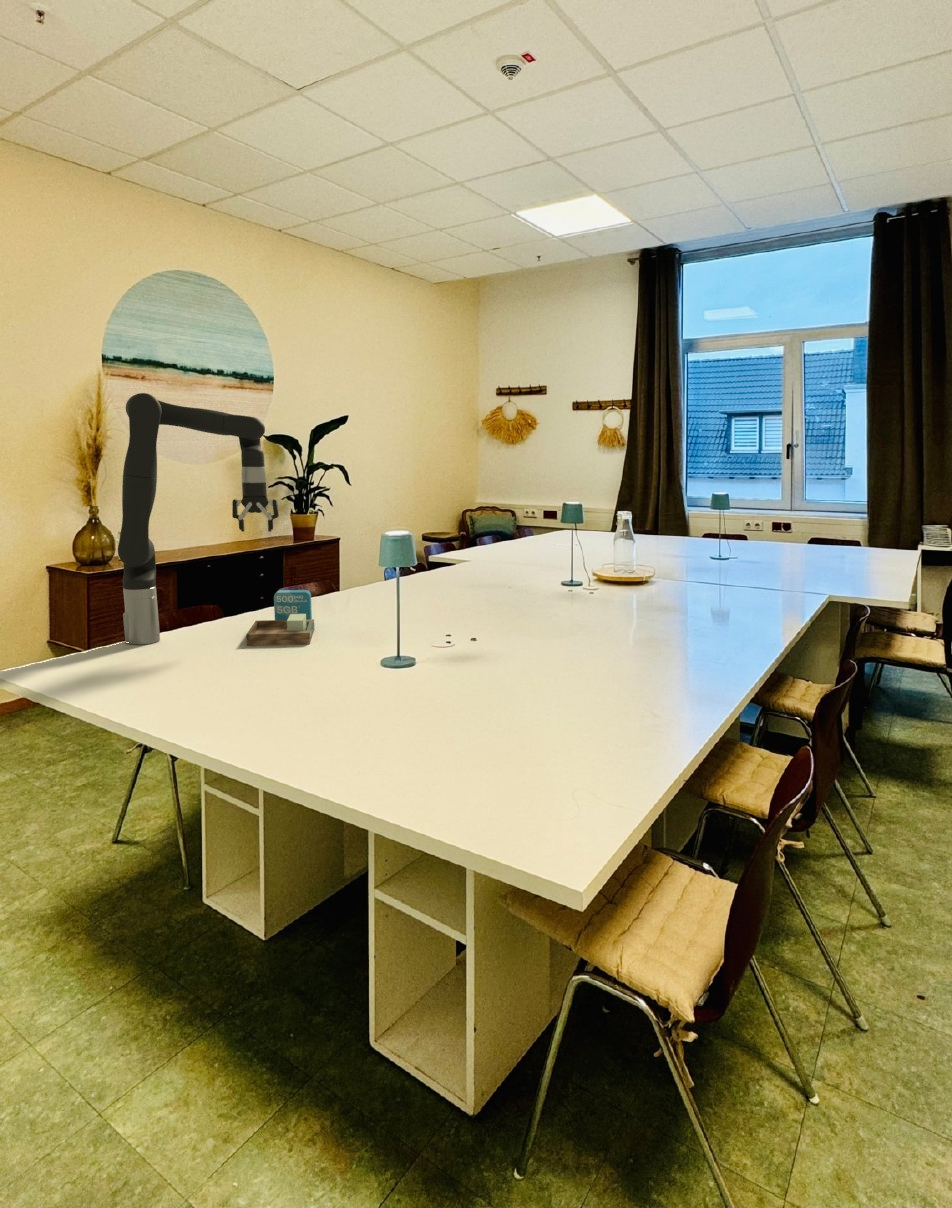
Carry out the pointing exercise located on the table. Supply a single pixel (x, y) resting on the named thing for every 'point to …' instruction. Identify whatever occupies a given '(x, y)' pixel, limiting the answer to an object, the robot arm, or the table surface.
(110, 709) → the table surface
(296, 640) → the shallow wooden tray
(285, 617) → the data package
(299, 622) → the panel block
